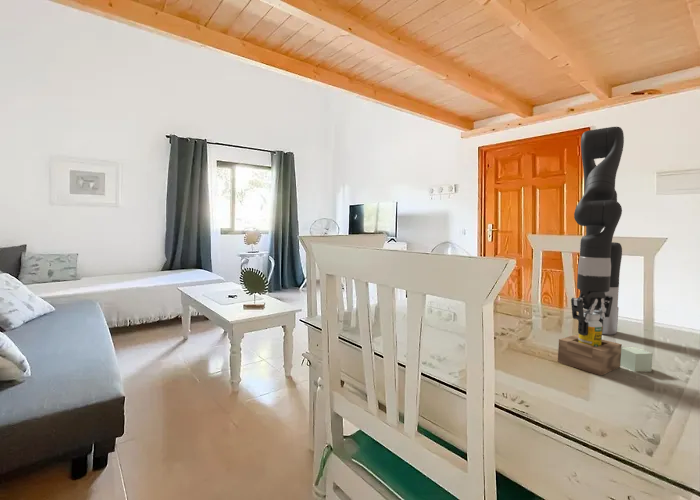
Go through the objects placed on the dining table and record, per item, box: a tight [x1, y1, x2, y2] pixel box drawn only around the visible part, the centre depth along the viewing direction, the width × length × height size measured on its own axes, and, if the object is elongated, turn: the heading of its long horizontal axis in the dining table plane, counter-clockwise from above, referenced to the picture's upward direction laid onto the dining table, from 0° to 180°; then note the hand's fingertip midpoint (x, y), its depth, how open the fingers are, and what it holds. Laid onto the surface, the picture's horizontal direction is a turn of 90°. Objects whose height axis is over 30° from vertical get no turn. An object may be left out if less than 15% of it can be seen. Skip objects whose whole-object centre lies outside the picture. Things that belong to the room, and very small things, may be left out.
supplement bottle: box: [578, 313, 603, 347], centre depth 100 cm, size 5×5×10 cm
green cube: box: [620, 346, 654, 373], centre depth 99 cm, size 5×5×5 cm
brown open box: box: [557, 333, 623, 376], centre depth 101 cm, size 11×11×6 cm
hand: (590, 333), depth 100 cm, fingers closed on supplement bottle, 5 cm apart
